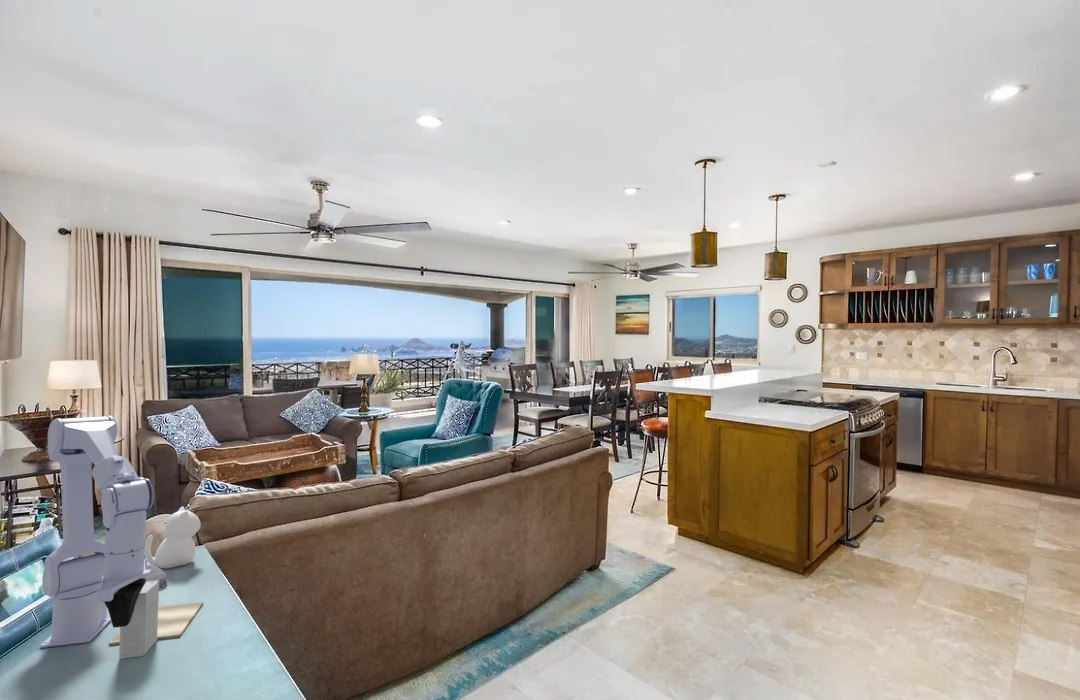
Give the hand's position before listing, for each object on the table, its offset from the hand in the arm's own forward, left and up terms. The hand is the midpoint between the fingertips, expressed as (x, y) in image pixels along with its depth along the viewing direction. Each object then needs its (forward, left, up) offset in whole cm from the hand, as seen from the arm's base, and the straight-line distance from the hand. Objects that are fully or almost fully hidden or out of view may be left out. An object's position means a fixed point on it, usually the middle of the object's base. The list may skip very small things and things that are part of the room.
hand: (121, 625), depth 93 cm
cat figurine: (-54, -9, -9) cm, 55 cm away
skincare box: (-8, 0, -9) cm, 12 cm away
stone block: (-39, -12, -9) cm, 42 cm away
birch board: (-18, 0, -8) cm, 20 cm away
